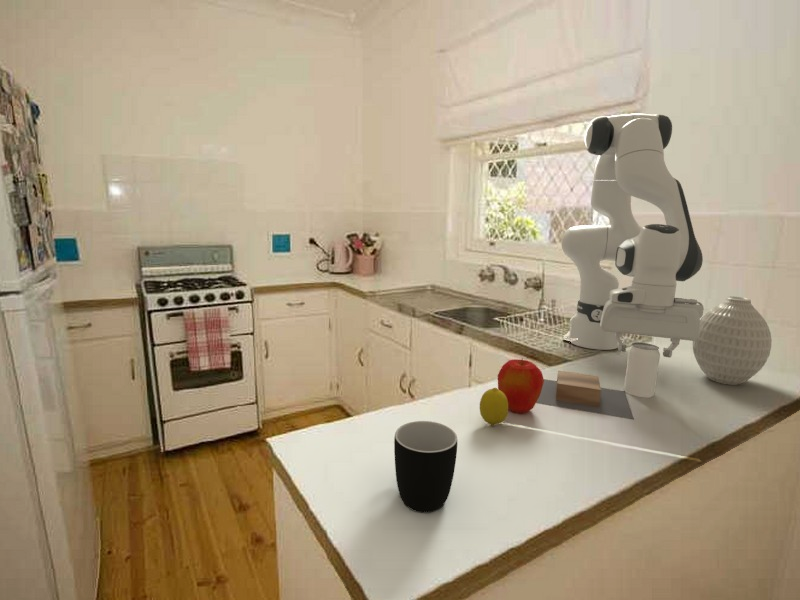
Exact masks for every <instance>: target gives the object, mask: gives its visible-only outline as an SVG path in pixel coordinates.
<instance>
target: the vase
mask: <svg viewBox="0 0 800 600" xmlns="http://www.w3.org/2000/svg"><path fill="white" fill-rule="evenodd" d="M771 333H772V332H771V331H770V328H769V324H768V323H767V321H766V319H765V318H764V317H763V315H762V314H761V313H760V312H759V311H758V310H757V309H756V308H755V307H754V306H753V305H752V301H751V299H750V298H748V297H741V296H732V295H731V296H729V295H728V296H726V298H725V300H724V301H723V302H721V303H720V304H717V305H716V306H714V307H713V308H712V309H710V310H709V311H707V312H706V313H705V314H703V315H702V317H701V318H700V335H699V338H698V339H696V340H695V341H692V351H693V355H694V358H695V361H696V362H697V364H698V366H699V368H700V370H701V371H702V372H703V374H705V376H706V377H707V378H708V379H709V380H710V381H712V382H713V381H714V382H716V383H718V384H723V385H731V386H737V385H740V384H742V383H745V382H746V381H748V380H750V379H751V378H753V377H754V376H756V374H758V372H760V371H761V370H762V369H763V367H764V366H765V364H766V363H767V361H768V359H769V357H770V354H771V350H772V341H773V340H772V334H771Z"/></svg>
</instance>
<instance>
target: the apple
mask: <svg viewBox="0 0 800 600" xmlns="http://www.w3.org/2000/svg"><path fill="white" fill-rule="evenodd" d="M544 379H545V378H544V376H543V372H542V370H541V369H540V368H539V367H538V366H537V365H536V364H535V363H533V362H532V361H529V360H527V359H526V360H525V359H524V358H523V357H522V358H521V359H517V358H514V359H513V358H512V359H509V360H508V361H506V362H505V363H504V364H503V365H502V366H501V368H500V370H499V372H498V373H497V389H498V390H500V391H502V392H503V393H504V394H505V396H506V397H507V401H508V410H510V411H511V412H513V413H516V414H526V413H528V412H530V411H531V410H533V409H534V408H535V406H536V404H537V403H536V402H537V400H538V398H539V396H540V394H541V390H542V386H543V383H544Z"/></svg>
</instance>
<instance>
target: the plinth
mask: <svg viewBox="0 0 800 600" xmlns="http://www.w3.org/2000/svg"><path fill="white" fill-rule="evenodd" d="M556 381H557V386H556V400H559V401H565V402H571V403H577V404H583V405H589V406H595V407H599V402H600V394H601V388H602V387H601V383H600V378H599V376H598V375H592V374H586V373H578V372H570V371H564V370H558V371H557V378H556Z"/></svg>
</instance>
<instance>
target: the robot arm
mask: <svg viewBox="0 0 800 600" xmlns="http://www.w3.org/2000/svg"><path fill="white" fill-rule="evenodd" d="M672 123H673V122H672V120H671V119H670V117H669V116H667V115H665V114H658V113H655V114H646V113H628V114H620V115H618V114H617V115H611V116H607V115H603V116H597V117H595V118H593V119H592V120H591V121H590V122H589V124H588V127H587V128H586V131H585V133H584V134H585V135H584V144H585V149H586V151H587V152H588V153H589V154H591V155H594V156H598V157H597V160H596V163H595V168H594V174H593V181H592V189H591V196H590V206H591V207H592V209H593V210H594V211H595V212H597V213H598V214H600V215H602V216H604V217H607V218H608V220H609V224H607V225H591V224H590V225H587V224H584V225H577V226H571V227H569V228H567V229H566V230H565V232H564V233H563V236H562V238H561V243H560V244H561V249H562V251H563V253H564V254H565V255H566V257H568V258H569V259H570V260H571V261H572V262H573V263H574V265H575V266H576V268H577V270H578V272H579V276H580V277H579V278H580V289H579V290H580V293H579V299H578V300H577V305H576V311H577V312H576V313H575V314H574V315H573V316H572V317H571V318H570V319H569V323H568V326H570V327H568V332H567V333H566V334H564V336H563V337H562V339H563V338H567V337H569V338H578V340H576V341H573V342H571V344H573V345H574V346H578V347H581V348H585V349H592V350H600V351H601V350H605V351H607V350H608V351H609V350H614V349H617V350H618V352H624V353H625V352H627V347H628V346H627V344H626V343H625V342H622V340H621V338H623V334H627V335H638V336H646V337H654V338H655V337H656V338H662V339H663V338H664V339H670V340H669V341H670V342H671V343H670V344H669V345H668V347H663V350H662V351H663V352H662V356H663V357H664V358H672V356H673V351H674V350H675V349H676V348H677V347H679V345H680V341H682V340H683V341H692V342H693V341H695V340H696V339H698V338H699V335H700V320H701V319H702V317H703V316H704V310H705V309H704V305H703V303H701V301H698V300H697V299H695V298H694V299H692V298H691V299H690V298H689V299H688V298H684V297H683V298H681V297H676V296H675V295H676V291H677V290H676V289H677V282H685V281H687V280H689V279H691V278H693V277H694V276H695V275H696V274H698V272H699V271H700V270H701V268H702V267H703V261H704V260H703V252H702V249H701V247H700V245H699V242H698V241H697V238H696V236H695V231H694V228H693V224H692V220H691V215H690V211H689V208H688V203H687V200H686V196H685V193H684V189H683V187H682V185H681V183H680V181H679V180H678V179H676V178H675V177H673V175H672V174H671V173H670V171H669V170H668V168H667V165H666V162H665V154H664V153H665V152H664V149H665V148H667V147H668V146H669V144H670V141H671V137H672V133H673V124H672ZM632 197H634V198H637V199H640V200H643V201H646V202H648V203H650V204H651V205H654V206H655V207H657V208H658V209H660V211H661V212H662V213H663V216H664V220H665V224H660V223H651V224H650V223H649V224H647V225H644V226H641V225H639V223H638V222H637V220H636V219H635V217H634V215H633V212H632V211H633V210H632V205H631V204H632V201H631V200H632ZM601 261H607V262H608V261H612V262H614V263H615V264H614V265H615V268H616V269H617V270H618V271H619V273H621V274H622V276H623V275H624V276H627V277H631V278H632V281H631V285H630V286H625V287H621V288H619V280H618V278H617V276H615V275H614V274H612V273H611V272H609V271H607V270H606V269H604V268H602V267H601V265H600V263H601Z"/></svg>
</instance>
